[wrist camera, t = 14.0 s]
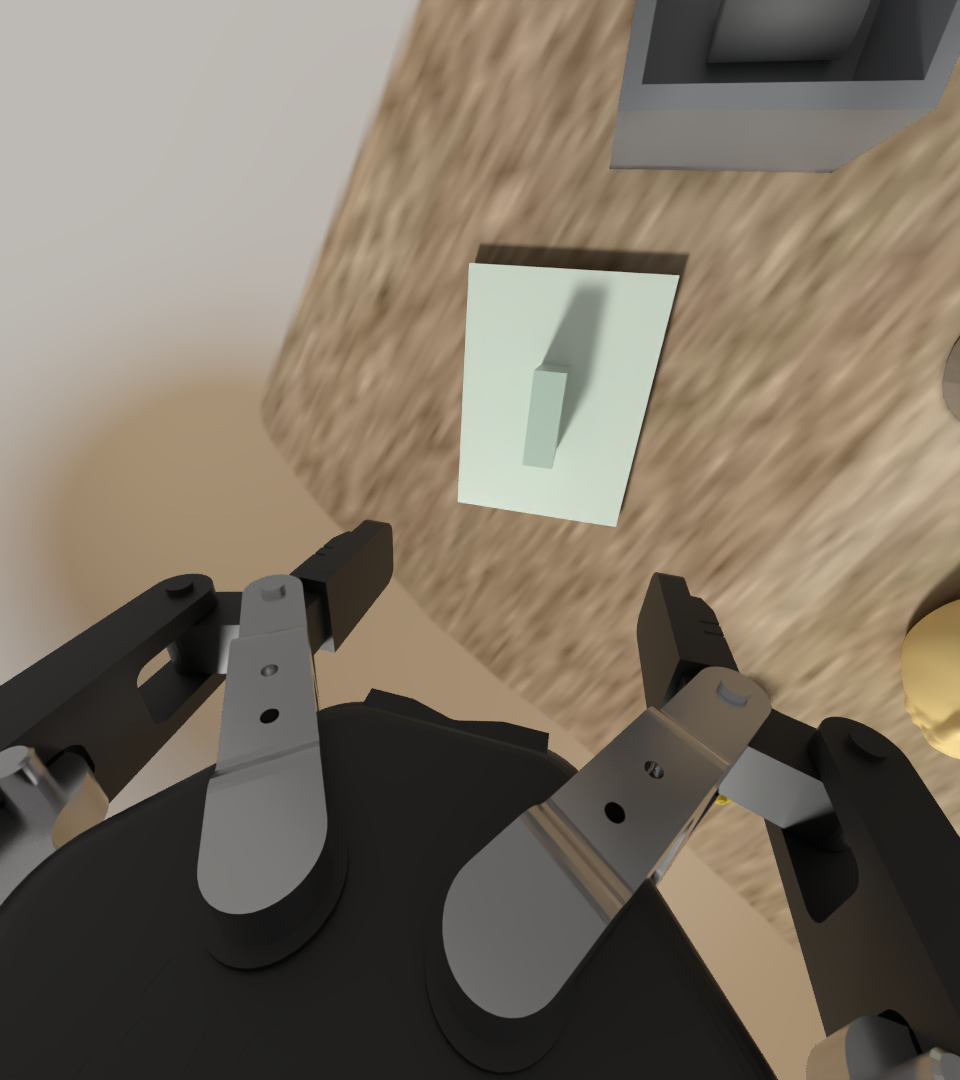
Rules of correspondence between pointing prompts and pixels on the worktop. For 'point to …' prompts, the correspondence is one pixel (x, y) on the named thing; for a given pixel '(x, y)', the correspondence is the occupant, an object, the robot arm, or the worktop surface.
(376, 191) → the worktop surface
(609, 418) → the lid
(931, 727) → the sculpture
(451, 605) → the worktop surface
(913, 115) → the tub
